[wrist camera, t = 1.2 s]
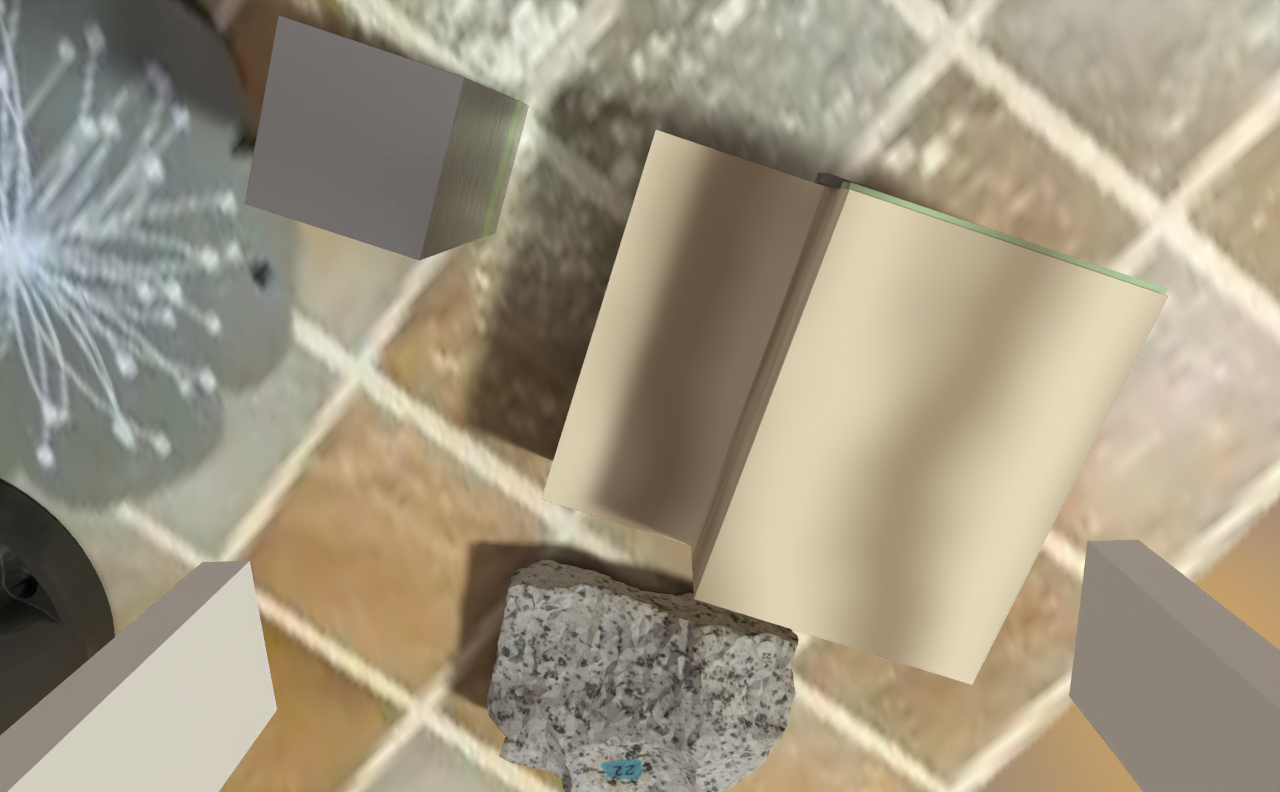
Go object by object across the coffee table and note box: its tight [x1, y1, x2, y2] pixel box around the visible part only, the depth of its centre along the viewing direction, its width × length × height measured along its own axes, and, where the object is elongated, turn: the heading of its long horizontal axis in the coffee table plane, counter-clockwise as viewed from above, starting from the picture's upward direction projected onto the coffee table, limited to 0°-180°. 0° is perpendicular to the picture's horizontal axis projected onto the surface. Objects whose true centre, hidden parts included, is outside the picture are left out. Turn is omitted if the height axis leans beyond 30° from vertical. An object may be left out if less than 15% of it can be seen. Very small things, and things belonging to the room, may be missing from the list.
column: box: [245, 16, 529, 260], centre depth 27 cm, size 5×5×10 cm
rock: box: [487, 560, 798, 792], centre depth 35 cm, size 13×10×5 cm
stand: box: [542, 130, 1168, 685], centre depth 29 cm, size 16×14×8 cm
